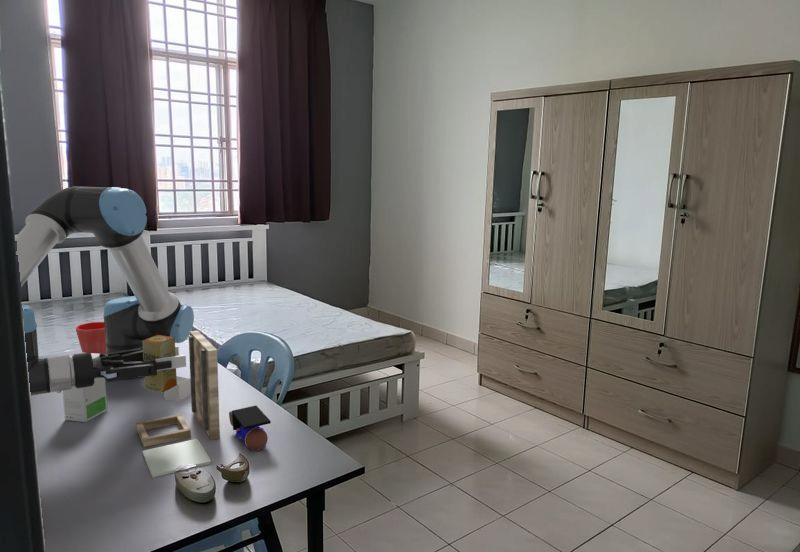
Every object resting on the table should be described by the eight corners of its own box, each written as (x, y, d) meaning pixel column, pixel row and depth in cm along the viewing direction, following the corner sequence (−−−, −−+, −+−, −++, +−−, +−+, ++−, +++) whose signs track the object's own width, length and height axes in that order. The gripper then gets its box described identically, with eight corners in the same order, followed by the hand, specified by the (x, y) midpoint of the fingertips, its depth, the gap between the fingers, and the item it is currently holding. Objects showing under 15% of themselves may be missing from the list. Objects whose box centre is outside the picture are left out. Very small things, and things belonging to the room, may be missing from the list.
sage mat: (142, 453, 130) (142, 450, 130) (197, 441, 136) (197, 438, 136) (152, 477, 120) (152, 475, 120) (211, 463, 127) (211, 460, 126)
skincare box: (85, 423, 144) (81, 363, 141) (62, 420, 145) (57, 361, 142) (108, 410, 152) (104, 353, 149) (86, 407, 153) (82, 350, 150)
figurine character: (227, 436, 143) (245, 456, 130) (225, 406, 142) (243, 423, 129) (254, 430, 146) (274, 449, 133) (252, 401, 145) (272, 417, 132)
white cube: (164, 399, 160) (163, 382, 159) (176, 392, 165) (175, 376, 164) (179, 401, 159) (178, 384, 158) (191, 395, 163) (190, 378, 163)
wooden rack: (134, 423, 145) (129, 338, 140) (200, 410, 153) (197, 330, 149) (147, 454, 130) (141, 360, 126) (219, 437, 138) (217, 349, 134)
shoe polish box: (162, 392, 135) (160, 343, 132) (145, 389, 136) (142, 340, 134) (176, 385, 139) (174, 337, 137) (159, 382, 141) (157, 334, 139)
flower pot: (86, 348, 201) (84, 321, 199) (118, 348, 202) (117, 321, 200) (71, 358, 190) (69, 329, 188) (106, 358, 191) (104, 330, 189)
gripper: (70, 373, 136) (173, 358, 148) (77, 404, 119) (192, 384, 132) (68, 343, 134) (172, 330, 147) (74, 369, 118) (191, 352, 130)
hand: (181, 355), depth 139 cm, fingers closed on shoe polish box, 7 cm apart
